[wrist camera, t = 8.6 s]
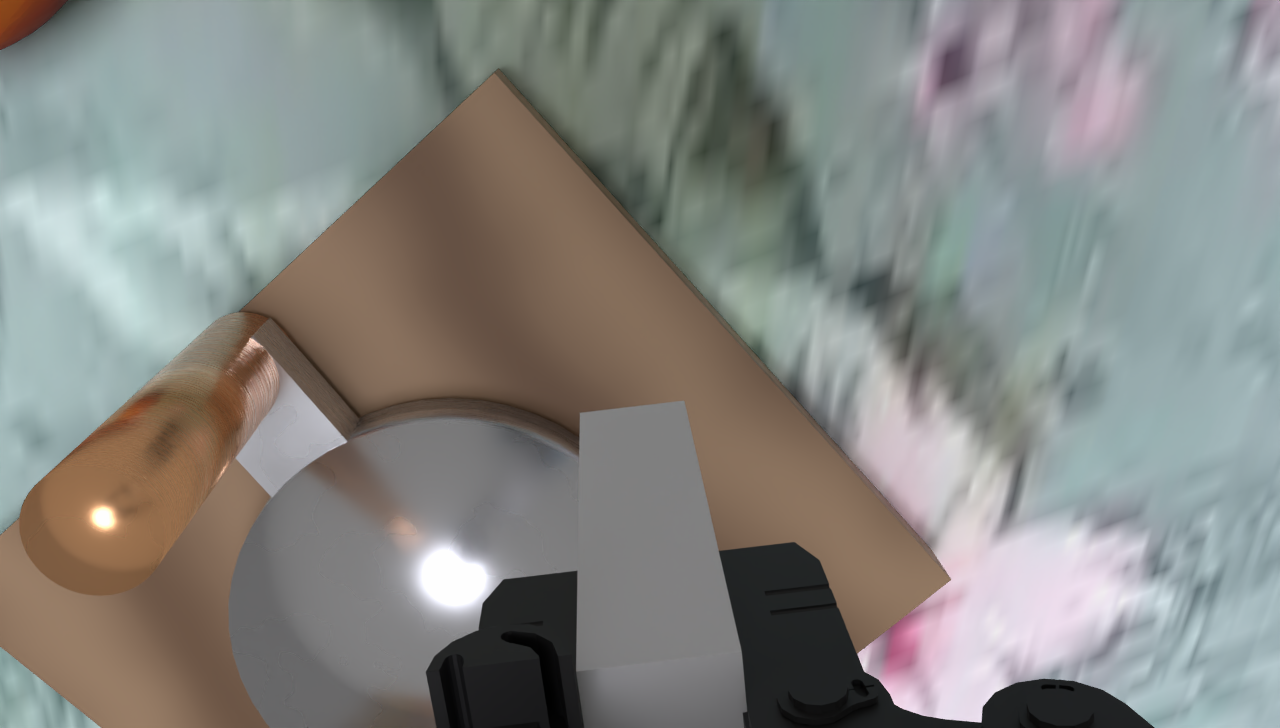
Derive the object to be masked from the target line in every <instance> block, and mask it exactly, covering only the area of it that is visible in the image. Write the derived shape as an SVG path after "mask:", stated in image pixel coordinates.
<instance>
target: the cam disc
mask: <svg viewBox="0 0 1280 728" xmlns="http://www.w3.org/2000/svg"><path fill="white" fill-rule="evenodd" d="M579 441H580V438H579V437H577V436H575V435H574V434H572V433H571V432H569V431H567V430H566V429H564V428H563V427H561V426H559V425H557V424H555V423H553V422H551V421H549V420H547V419H544V418H542V417H540V416H538V415H536V414H533V413H530V412H527V411H524V410H521V409H518V408H515V407H511V406H508V405H504V404H498V403H493V402H488V401H482V400H472V399H456V398H446V399H430V400H420V401H414V402H409V403H404V404H398V405H394V406H391V407H388V408H384V409H381V410H378V411H375V412H372V413H369V414H367V415H364V416H362V417H360V418H358V417H357V416H356V414H355V413H354V412H353V411H352V410H351V409H350V408H349V407H348V405H347V404H346V403H345V402H344V401H343V400H342V399H341V397H340V396H339V395H338V394H337V393H336V392H335V391H334V389H333V388H332V387H331V386H330V385H329V384H328V383H327V381H326V380H325V379H324V378H323V377H322V376H321V375H320V373H319V372H318V371H317V370H316V369H315V368H314V367H313V365H312V364H311V363H310V362H309V361H308V360H307V359H306V358H305V356H304V355H303V354H302V353H301V352H300V351H299V350H298V348H297V347H296V346H295V345H294V344H293V343H292V342H291V340H290V339H289V337H288V336H287V334H286V333H285V332H284V331H283V329H282V328H281V327H280V326H278V325H277V324H276V323H275V322H274V321H273V320H272V319H271V318H269V319H268V318H266V317H264V316H261V315H258V314H254V313H247V312H239V313H232V314H229V315H225V316H223V317H221V318H219V319H218V320H216V321H215V322H213V323H212V324H211V325H210V326H209V327H208V328H207V329H206V330H205V331H203V332H202V333H201V334H200V335H199V336H198V337H197V338H196V339H195V340H194V341H192V342H191V343H190V344H189V345H188V346H187V347H186V348H185V349H184V350H183V351H182V352H180V353H179V354H178V355H177V356H176V357H175V358H174V359H173V360H172V361H171V362H170V363H168V364H167V365H166V366H165V367H164V368H163V369H162V370H161V371H160V372H159V373H158V374H156V375H155V376H154V377H153V378H152V379H151V380H150V381H149V382H148V383H147V384H145V385H144V386H143V387H142V388H141V389H140V390H139V391H138V392H137V393H136V394H135V395H133V396H132V397H131V398H130V399H129V400H128V401H127V402H126V403H125V404H124V405H123V406H121V407H120V408H119V409H118V410H117V411H116V412H115V413H114V414H113V415H112V416H111V417H109V418H108V419H107V420H106V421H105V422H104V423H103V424H102V425H101V426H100V427H98V428H97V429H96V430H95V431H94V432H93V433H92V434H91V435H90V436H89V437H88V438H86V439H85V440H84V441H83V442H82V443H81V444H80V445H79V446H78V447H77V448H76V449H74V450H73V451H72V452H71V453H70V454H69V455H68V456H67V457H66V458H65V459H64V460H62V461H61V462H60V463H59V464H58V465H57V466H56V467H55V468H54V469H53V470H51V471H50V472H49V473H48V474H47V475H46V476H45V477H44V478H43V479H42V480H41V481H39V482H38V483H37V484H36V485H35V486H34V487H33V488H32V490H31V491H30V492H29V494H28V495H27V497H26V499H25V500H24V503H23V505H22V508H21V512H20V518H19V530H20V536H21V541H22V544H23V546H24V549H25V551H26V553H27V555H28V557H29V558H30V560H31V561H32V562H33V564H34V565H35V566H36V567H37V568H38V570H39V571H40V572H41V573H43V574H44V575H45V576H46V577H47V578H49V579H50V580H51V581H53V582H54V583H56V584H58V585H60V586H62V587H63V588H66V589H68V590H71V591H74V592H77V593H81V594H87V595H96V596H104V595H113V594H118V593H122V592H125V591H128V590H130V589H132V588H134V587H136V586H138V585H139V584H141V583H142V582H144V581H145V580H146V579H147V578H148V577H149V576H150V575H151V574H152V573H153V572H154V571H155V569H156V568H157V567H158V565H159V564H160V562H161V561H162V560H163V558H164V557H165V555H166V554H167V553H168V551H169V550H170V549H171V547H172V546H173V544H174V543H175V542H176V540H177V539H178V537H179V536H180V535H181V533H182V532H183V530H184V529H185V528H186V526H187V525H188V524H189V522H190V521H191V519H192V518H193V517H194V515H195V514H196V512H197V511H198V510H199V508H200V507H201V506H202V504H203V503H204V501H205V500H206V499H207V497H208V496H209V494H210V493H211V492H212V490H213V489H214V487H215V486H216V485H217V483H218V482H219V481H220V479H221V478H222V476H223V475H224V474H225V472H226V471H227V469H228V468H229V467H230V465H231V464H232V462H233V461H234V460H235V458H236V459H237V460H238V462H239V463H240V464H241V465H242V466H243V467H244V468H245V469H246V470H247V471H248V472H249V473H250V474H251V476H252V477H253V478H254V479H255V480H256V481H257V482H258V483H259V484H260V485H261V486H262V487H263V488H264V490H265V491H266V492H267V493H268V494H269V495H270V497H269V499H268V500H267V502H266V504H265V505H264V507H263V509H262V510H261V512H260V514H259V515H258V517H257V519H256V520H255V522H254V524H253V525H252V527H251V529H250V531H249V533H248V535H247V537H246V540H245V542H244V544H243V546H242V548H241V550H240V553H239V556H238V559H237V563H236V566H235V569H234V573H233V576H232V581H231V589H230V596H229V604H228V605H229V633H230V639H231V645H232V651H233V656H234V659H235V662H236V665H237V668H238V671H239V675H240V678H241V680H242V682H243V684H244V686H245V688H246V690H247V692H248V695H249V697H250V699H251V701H252V703H253V704H254V706H255V707H256V709H257V710H258V712H259V713H260V715H261V716H262V718H263V719H264V721H265V722H266V724H267V725H268V726H269V727H270V728H436V723H435V718H434V713H433V707H432V702H431V697H430V692H429V687H428V681H427V676H426V670H427V669H428V667H429V665H430V663H431V661H432V660H433V658H434V656H435V655H436V654H438V653H439V652H440V651H441V650H443V649H444V648H445V647H446V646H448V645H449V644H450V643H451V642H453V641H455V640H457V639H459V638H461V637H464V636H466V635H468V634H470V633H473V632H475V631H478V630H479V629H478V628H479V622H480V616H481V610H482V604H483V602H484V601H485V600H486V599H487V598H488V596H489V595H490V594H491V593H492V592H493V591H494V590H495V588H496V587H497V586H498V585H499V584H500V583H501V582H502V580H503V579H511V578H519V577H527V576H536V575H544V574H553V573H561V572H570V571H578V508H579Z"/></svg>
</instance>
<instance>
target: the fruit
mask: <svg viewBox="0 0 1280 728" xmlns="http://www.w3.org/2000/svg"><path fill="white" fill-rule="evenodd" d="M67 1H68V0H0V50H1V49H4V48H6V47H8V46H10V45H12V44H14V43H16V42H17V41H19V40H21V39H23V38H24V37H26V36H28V35H30V34H31V33H33V32H34V31H35V30H37V29H38V28H39V27H41V26H42V25H43V24H45V23H46V22H47V21H48V20H49V19H50V18H51V17H52V16H53V15H54V14H55V13H56V12H57V11H58V10H59V9H60V8H61V7H62V6H63V5H64V4H65V3H66V2H67Z"/></svg>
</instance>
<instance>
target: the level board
mask: <svg viewBox="0 0 1280 728" xmlns="http://www.w3.org/2000/svg"><path fill="white" fill-rule="evenodd" d="M239 312H247V313H254V314H258V315H261V316H264V317H266V318H268V319H269V318H271V319H272V320H273V321H274V322H275V323H276V324H277V325H278V326H280V327H281V328H282V329H283V331H284V332H285V333H286V334H287V336H288V337H289V339H290V340H291V342H292V343H293V344H294V345H295V346H296V347H297V348H298V350H299V351H300V352H301V353H302V354H303V355H304V356H305V358H306V359H307V360H308V361H309V362H310V363H311V364H312V365H313V367H314V368H315V369H316V370H317V371H318V372H319V373H320V375H321V376H322V377H323V378H324V379H325V380H326V381H327V383H328V384H329V385H330V386H331V387H332V388H333V389H334V391H335V392H336V393H337V394H338V395H339V396H340V397H341V399H342V400H343V401H344V402H345V403H346V404H347V405H348V407H349V408H350V409H351V410H352V411H353V412H354V413H355V414H356V416H357V417H358V418H360V417H362V416H364V415H367V414H369V413H372V412H375V411H378V410H381V409H384V408H388V407H391V406H394V405H398V404H404V403H409V402H414V401H420V400H430V399H446V398H456V399H472V400H482V401H488V402H493V403H498V404H504V405H508V406H511V407H515V408H518V409H521V410H524V411H527V412H530V413H533V414H536V415H538V416H540V417H542V418H544V419H547V420H549V421H551V422H553V423H555V424H557V425H559V426H561V427H563V428H564V429H566V430H567V431H569V432H571V433H572V434H574V435H575V436H577V437H579V438H580V413H583V412H591V411H600V410H608V409H617V408H625V407H634V406H643V405H651V404H660V403H668V402H677V401H684V402H685V406H686V410H687V415H688V419H689V423H690V428H691V432H692V437H693V441H694V445H695V450H696V454H697V458H698V463H699V467H700V471H701V476H702V480H703V485H704V489H705V493H706V498H707V502H708V506H709V511H710V515H711V520H712V524H713V528H714V533H715V537H716V541H717V546H718V550H719V551H722V550H730V549H739V548H747V547H756V546H764V545H773V544H781V543H790V542H795V543H797V544H798V545H799V546H801V547H802V548H804V549H805V550H806V551H808V552H809V553H810V554H812V555H813V556H815V557H816V558H817V559H819V560H820V562H821V565H822V567H823V570H824V572H825V575H826V577H827V580H828V582H829V587H830V588H831V590H832V592H833V595H834V598H835V600H836V603H837V608H839V610H840V613H841V615H842V618H843V620H844V623H845V625H846V628H847V630H848V633H849V635H850V638H851V640H852V643H853V645H854V648H855V650H856V653H858V652H860V651H861V650H862V649H864V648H865V647H866V646H867V645H869V644H870V643H871V642H872V641H874V640H875V639H876V638H878V637H879V636H880V635H881V634H883V633H884V632H885V631H887V630H888V629H889V628H890V627H892V626H893V625H894V624H895V623H897V622H898V621H899V620H901V619H902V618H903V617H904V616H906V615H907V614H908V613H909V612H911V611H912V610H913V609H915V608H916V607H917V606H918V605H920V604H921V603H922V602H923V601H925V600H926V599H927V598H929V597H930V596H931V595H932V594H934V593H935V592H936V591H938V590H939V589H940V588H941V587H943V586H944V585H945V584H946V583H948V582H949V581H950V580H951V578H950V577H949V575H948V574H947V572H946V571H945V569H944V568H943V566H942V565H941V563H940V562H939V560H938V559H937V557H936V556H935V554H934V553H933V551H932V550H931V549H930V548H929V547H928V546H927V544H926V543H925V542H924V541H923V540H922V539H921V538H920V537H919V536H918V534H917V533H916V532H915V531H914V530H913V529H912V528H911V527H910V526H909V524H908V523H907V522H906V521H905V520H904V519H903V518H902V517H901V516H900V514H899V513H898V512H897V511H896V510H895V509H894V508H893V507H892V506H891V504H890V503H889V502H888V501H887V500H886V499H885V498H884V497H883V496H882V494H881V493H880V492H879V491H878V490H877V489H876V488H875V487H874V486H873V484H872V483H871V482H870V481H869V480H868V479H867V478H866V477H865V476H864V474H863V473H862V472H861V471H860V470H859V469H858V468H857V467H856V466H855V464H854V463H853V462H852V461H851V460H850V459H849V458H848V457H847V456H846V454H845V453H844V452H843V451H842V450H841V449H840V448H839V447H838V446H837V444H836V443H835V442H834V441H833V440H832V439H831V438H830V437H829V435H828V434H827V433H826V432H825V431H824V430H823V429H822V428H821V427H820V425H819V424H818V423H817V422H816V421H815V420H814V419H813V418H812V417H811V415H810V414H809V413H808V412H807V411H806V410H805V409H804V408H803V407H802V405H801V404H800V403H799V402H798V401H797V400H796V399H795V398H794V397H793V395H792V394H791V393H790V392H789V391H788V390H787V389H786V388H785V387H784V385H783V384H782V383H781V382H780V381H779V380H778V379H777V378H776V377H775V375H774V374H773V373H772V372H771V371H770V370H769V369H768V368H767V367H766V365H765V364H764V363H763V362H762V361H761V360H760V359H759V358H758V357H757V355H756V354H755V353H754V352H753V351H752V350H751V349H750V348H749V347H748V345H747V344H746V343H745V342H744V341H743V340H742V339H741V338H740V337H739V335H738V334H737V333H736V332H735V331H734V330H733V329H732V328H731V327H730V325H729V324H728V323H727V322H726V321H725V320H724V319H723V318H722V317H721V315H720V314H719V313H718V312H717V311H716V310H715V309H714V308H713V307H712V305H711V304H710V303H709V302H708V301H707V300H706V299H705V298H704V296H703V295H702V294H701V293H700V292H699V291H698V290H697V289H696V288H695V286H694V285H693V284H692V283H691V282H690V281H689V280H688V279H687V278H686V276H685V275H684V274H683V273H682V272H681V271H680V270H679V269H678V268H677V266H676V265H675V264H674V263H673V262H672V261H671V260H670V259H669V258H668V256H667V255H666V254H665V253H664V252H663V251H662V250H661V249H660V248H659V246H658V245H657V244H656V243H655V242H654V241H653V240H652V239H651V238H650V236H649V235H648V234H647V233H646V232H645V231H644V230H643V229H642V228H641V226H640V225H639V224H638V223H637V222H636V221H635V220H634V219H633V218H632V216H631V215H630V214H629V213H628V212H627V211H626V210H625V209H624V208H623V206H622V205H621V204H620V203H619V202H618V201H617V200H616V199H615V198H614V196H613V195H612V194H611V193H610V192H609V191H608V190H607V189H606V188H605V186H604V185H603V184H602V183H601V182H600V181H599V180H598V179H597V178H596V176H595V175H594V174H593V173H592V172H591V171H590V170H589V169H588V167H587V166H586V165H585V164H584V163H583V162H582V161H581V160H580V159H579V157H578V156H577V155H576V154H575V153H574V152H573V151H572V150H571V149H570V147H569V146H568V145H567V144H566V143H565V142H564V141H563V140H562V139H561V137H560V136H559V135H558V134H557V133H556V132H555V131H554V130H553V129H552V127H551V126H550V125H549V124H548V123H547V122H546V121H545V120H544V119H543V117H542V116H541V115H540V114H539V113H538V112H537V111H536V110H535V109H534V107H533V106H532V105H531V104H530V103H529V102H528V101H527V100H526V99H525V97H524V96H523V95H522V94H521V93H520V92H519V91H518V90H517V89H516V87H515V86H514V85H513V84H512V83H511V82H510V81H509V80H508V79H507V77H506V76H505V75H504V74H503V73H502V72H501V71H500V70H499V69H498V70H496V71H495V72H494V73H493V74H492V75H491V76H490V77H489V78H488V79H487V80H486V81H485V82H484V83H483V84H482V85H480V86H479V87H478V88H477V89H476V90H475V91H474V92H473V93H472V94H471V95H470V96H469V97H468V98H467V99H466V100H464V101H463V102H462V103H461V104H460V105H459V106H458V107H457V108H456V109H455V110H454V111H453V112H452V113H451V114H450V115H448V116H447V117H446V118H445V119H444V120H443V121H442V122H441V123H440V124H439V125H438V126H437V127H436V128H435V129H434V130H432V131H431V132H430V133H429V134H428V135H427V136H426V137H425V138H424V139H423V140H422V141H421V142H420V143H419V144H417V145H416V146H415V147H414V148H413V149H412V150H411V151H410V152H409V153H408V154H407V155H406V156H405V157H404V158H403V159H401V160H400V161H399V162H398V163H397V164H396V165H395V166H394V167H393V168H392V169H391V170H390V171H389V172H388V173H387V174H385V175H384V176H383V177H382V178H381V179H380V180H379V181H378V182H377V183H376V184H375V185H374V186H373V187H372V188H371V189H369V190H368V191H367V192H366V193H365V194H364V195H363V196H362V197H361V198H360V199H359V200H358V201H357V202H356V203H355V204H353V205H352V206H351V207H350V208H349V209H348V210H347V211H346V212H345V213H344V214H343V215H342V216H341V217H340V218H339V219H337V220H336V221H335V222H334V223H333V224H332V225H331V226H330V227H329V228H328V229H327V230H326V231H325V232H324V233H323V234H321V235H320V236H319V237H318V238H317V239H316V240H315V241H314V242H313V243H312V244H311V245H310V246H309V247H308V248H306V249H305V250H304V251H303V252H302V253H301V254H300V255H299V256H298V257H297V258H296V259H295V260H294V261H293V262H292V263H290V264H289V265H288V266H287V267H286V268H285V269H284V270H283V271H282V272H281V273H280V274H279V275H278V276H277V277H276V278H274V279H273V280H272V281H271V282H270V283H269V284H268V285H267V286H266V287H265V288H264V289H263V290H262V291H261V292H260V293H258V294H257V295H256V296H255V297H254V298H253V299H252V300H251V301H250V302H249V303H248V304H247V305H246V306H245V307H244V308H242V309H241V310H240V311H239ZM239 312H238V313H239ZM269 497H270V495H269V494H268V493H267V492H266V491H265V490H264V488H263V487H262V486H261V485H260V484H259V483H258V482H257V481H256V480H255V479H254V478H253V477H252V476H251V474H250V473H249V472H248V471H247V470H246V469H245V468H244V467H243V466H242V465H241V464H240V463H239V462H238V460H237V459H236V458H235V460H234V461H233V462H232V464H231V465H230V467H229V468H228V469H227V471H226V472H225V474H224V475H223V476H222V478H221V479H220V481H219V482H218V483H217V485H216V486H215V487H214V489H213V490H212V492H211V493H210V494H209V496H208V497H207V499H206V500H205V501H204V503H203V504H202V506H201V507H200V508H199V510H198V511H197V512H196V514H195V515H194V517H193V518H192V519H191V521H190V522H189V524H188V525H187V526H186V528H185V529H184V530H183V532H182V533H181V535H180V536H179V537H178V539H177V540H176V542H175V543H174V544H173V546H172V547H171V549H170V550H169V551H168V553H167V554H166V555H165V557H164V558H163V560H162V561H161V562H160V564H159V565H158V567H157V568H156V569H155V571H154V572H153V573H152V574H151V575H150V576H149V577H148V578H147V579H146V580H145V581H144V582H142V583H141V584H139V585H138V586H136V587H134V588H132V589H130V590H128V591H125V592H122V593H118V594H113V595H104V596H96V595H87V594H81V593H77V592H74V591H71V590H68V589H66V588H63V587H62V586H60V585H58V584H56V583H54V582H53V581H51V580H50V579H49V578H47V577H46V576H45V575H44V574H43V573H41V572H40V571H39V570H38V568H37V567H36V566H35V565H34V564H33V562H32V561H31V560H30V558H29V557H28V555H27V553H26V551H25V549H24V546H23V544H22V541H21V536H20V530H19V518H20V517H19V518H18V519H17V520H16V521H15V522H14V523H13V524H12V525H11V526H10V527H9V528H8V529H7V530H5V531H4V532H3V533H2V534H1V535H0V647H2V648H3V649H4V650H5V651H7V652H8V653H9V654H10V655H12V656H13V657H14V658H15V659H16V660H18V661H19V662H20V663H21V664H23V665H24V666H25V667H26V668H28V669H29V670H30V671H31V672H33V673H34V674H35V675H36V676H38V677H39V678H40V679H41V680H43V681H44V682H45V683H46V684H48V685H49V686H50V687H51V688H53V689H54V690H55V691H56V692H58V693H59V694H60V695H61V696H63V697H64V698H65V699H66V700H68V701H69V702H70V703H71V704H73V705H74V706H75V707H76V708H78V709H79V710H80V711H81V712H83V713H84V714H85V715H86V716H88V717H89V718H90V719H91V720H93V721H94V722H95V723H96V724H97V725H99V726H100V727H101V728H270V727H269V726H268V725H267V724H266V722H265V721H264V719H263V718H262V716H261V715H260V713H259V712H258V710H257V709H256V707H255V706H254V704H253V703H252V701H251V699H250V697H249V695H248V692H247V690H246V688H245V686H244V684H243V682H242V680H241V678H240V675H239V671H238V668H237V665H236V662H235V659H234V656H233V651H232V645H231V639H230V633H229V605H228V604H229V596H230V589H231V581H232V576H233V573H234V569H235V566H236V563H237V559H238V556H239V553H240V550H241V548H242V546H243V544H244V542H245V540H246V537H247V535H248V533H249V531H250V529H251V527H252V525H253V524H254V522H255V520H256V519H257V517H258V515H259V514H260V512H261V510H262V509H263V507H264V505H265V504H266V502H267V500H268V499H269Z"/></svg>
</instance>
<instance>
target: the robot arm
mask: <svg viewBox="0 0 1280 728" xmlns="http://www.w3.org/2000/svg"><path fill="white" fill-rule="evenodd" d="M478 629H479V630H478V631H475V632H473V633H470V634H468V635H466V636H464V637H461V638H459V639H457V640H455V641H453V642H451V643H450V644H449V645H448V646H446V647H445V648H444V649H443V650H441V651H440V652H439V653H438V654H436V655H435V656H434V658H433V660H432V661H431V663H430V665H429V667H428V669H427V670H426V676H427V681H428V687H429V692H430V697H431V702H432V707H433V713H434V718H435V723H436V728H1154V727H1153V726H1152V725H1151V724H1149V723H1148V722H1147V721H1146V720H1145V719H1143V718H1142V717H1141V716H1140V715H1138V714H1137V713H1136V712H1135V711H1134V710H1132V709H1131V708H1130V707H1129V706H1128V705H1126V704H1125V703H1123V702H1122V701H1120V700H1118V699H1117V698H1115V697H1113V696H1112V695H1110V694H1108V693H1107V692H1105V691H1103V690H1101V689H1098V688H1095V687H1091V686H1088V685H1085V684H1081V683H1078V682H1075V681H1066V680H1055V679H1039V680H1032V681H1025V682H1018V683H1015V684H1013V685H1011V686H1008V687H1006V688H1004V689H1002V690H1000V691H998V692H995V693H994V695H993V696H992V697H991V698H990V699H989V700H988V702H987V703H986V704H985V705H984V706H983V711H982V723H978V722H967V721H956V720H945V719H939V718H933V717H927V716H922V715H919V714H916V713H913V712H910V711H907V710H904V709H902V708H900V707H898V706H896V705H894V703H893V701H892V698H891V696H890V694H889V693H888V691H887V690H886V689H885V688H884V686H883V685H882V684H881V682H880V681H879V680H878V679H876V678H874V677H873V676H871V675H869V674H867V673H865V672H864V671H863V668H862V666H861V663H860V660H859V658H858V655H857V653H856V650H855V648H854V645H853V643H852V640H851V638H850V635H849V633H848V630H847V628H846V625H845V623H844V620H843V618H842V615H841V613H840V610H839V608H837V603H836V600H835V598H834V595H833V592H832V590H831V588H830V587H829V582H828V580H827V577H826V575H825V572H824V570H823V567H822V565H821V562H820V560H819V559H817V558H816V557H815V556H813V555H812V554H810V553H809V552H808V551H806V550H805V549H804V548H802V547H801V546H799V545H798V544H797V543H795V542H790V543H781V544H773V545H764V546H756V547H747V548H739V549H730V550H722V551H719V550H718V546H717V541H716V537H715V533H714V528H713V524H712V520H711V515H710V511H709V506H708V502H707V498H706V493H705V489H704V485H703V480H702V476H701V471H700V467H699V463H698V458H697V454H696V450H695V445H694V441H693V437H692V432H691V428H690V423H689V419H688V415H687V410H686V406H685V402H684V401H677V402H668V403H660V404H651V405H643V406H634V407H625V408H617V409H608V410H600V411H591V412H583V413H580V441H579V508H578V571H570V572H561V573H553V574H544V575H536V576H527V577H519V578H511V579H503V580H502V582H501V583H500V584H499V585H498V586H497V587H496V588H495V590H494V591H493V592H492V593H491V594H490V595H489V596H488V598H487V599H486V600H485V601H484V602H483V604H482V610H481V616H480V622H479V628H478Z"/></svg>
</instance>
